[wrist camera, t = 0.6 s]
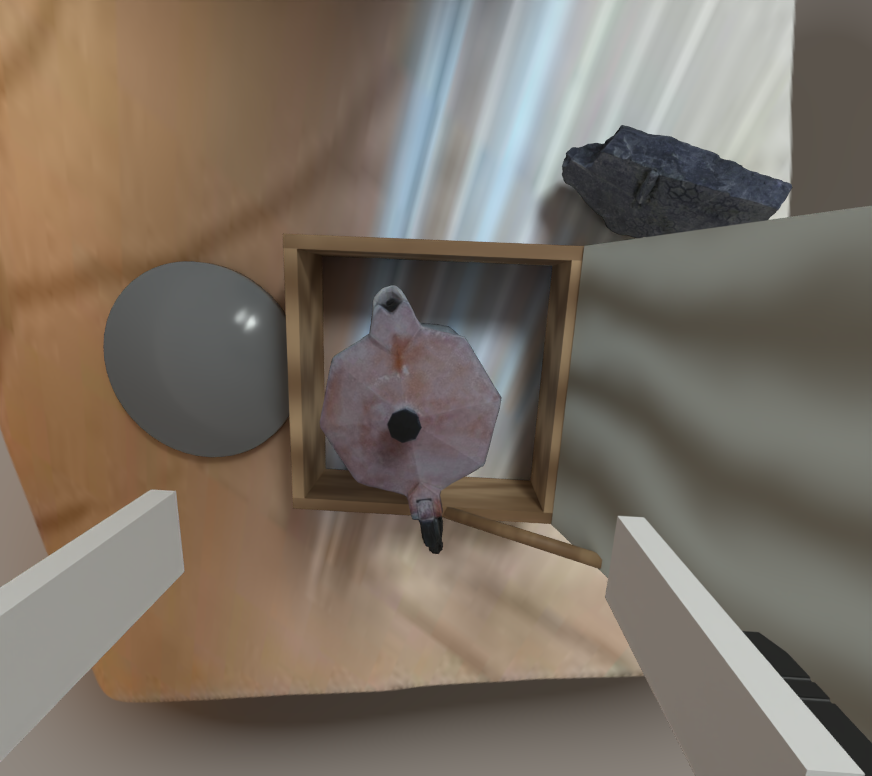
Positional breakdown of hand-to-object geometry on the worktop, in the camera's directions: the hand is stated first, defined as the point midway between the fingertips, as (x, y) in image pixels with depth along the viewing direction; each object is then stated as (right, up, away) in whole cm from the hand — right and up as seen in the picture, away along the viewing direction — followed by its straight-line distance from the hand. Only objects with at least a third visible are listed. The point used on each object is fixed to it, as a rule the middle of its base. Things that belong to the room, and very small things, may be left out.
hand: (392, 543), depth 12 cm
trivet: (-20, +7, +26) cm, 34 cm away
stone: (+17, +20, +22) cm, 35 cm away
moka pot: (+1, +6, +26) cm, 27 cm away
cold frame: (+5, +6, +26) cm, 27 cm away
